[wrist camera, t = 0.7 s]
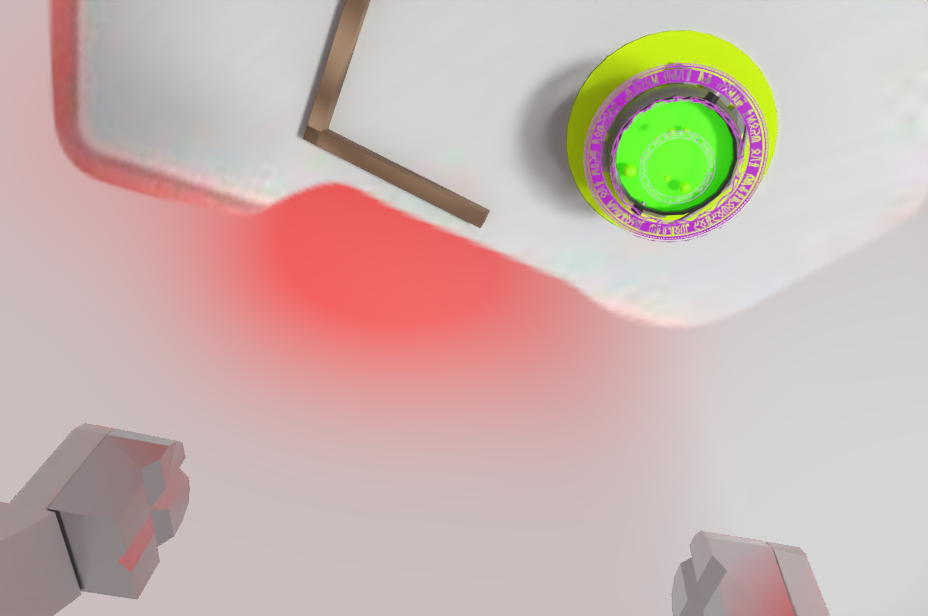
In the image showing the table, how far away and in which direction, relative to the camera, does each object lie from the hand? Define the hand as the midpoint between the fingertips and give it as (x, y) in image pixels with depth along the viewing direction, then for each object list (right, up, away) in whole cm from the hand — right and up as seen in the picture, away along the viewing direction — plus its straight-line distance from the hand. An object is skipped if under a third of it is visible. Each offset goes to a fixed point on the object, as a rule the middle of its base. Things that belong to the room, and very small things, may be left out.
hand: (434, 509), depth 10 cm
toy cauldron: (+16, +16, +39) cm, 45 cm away
